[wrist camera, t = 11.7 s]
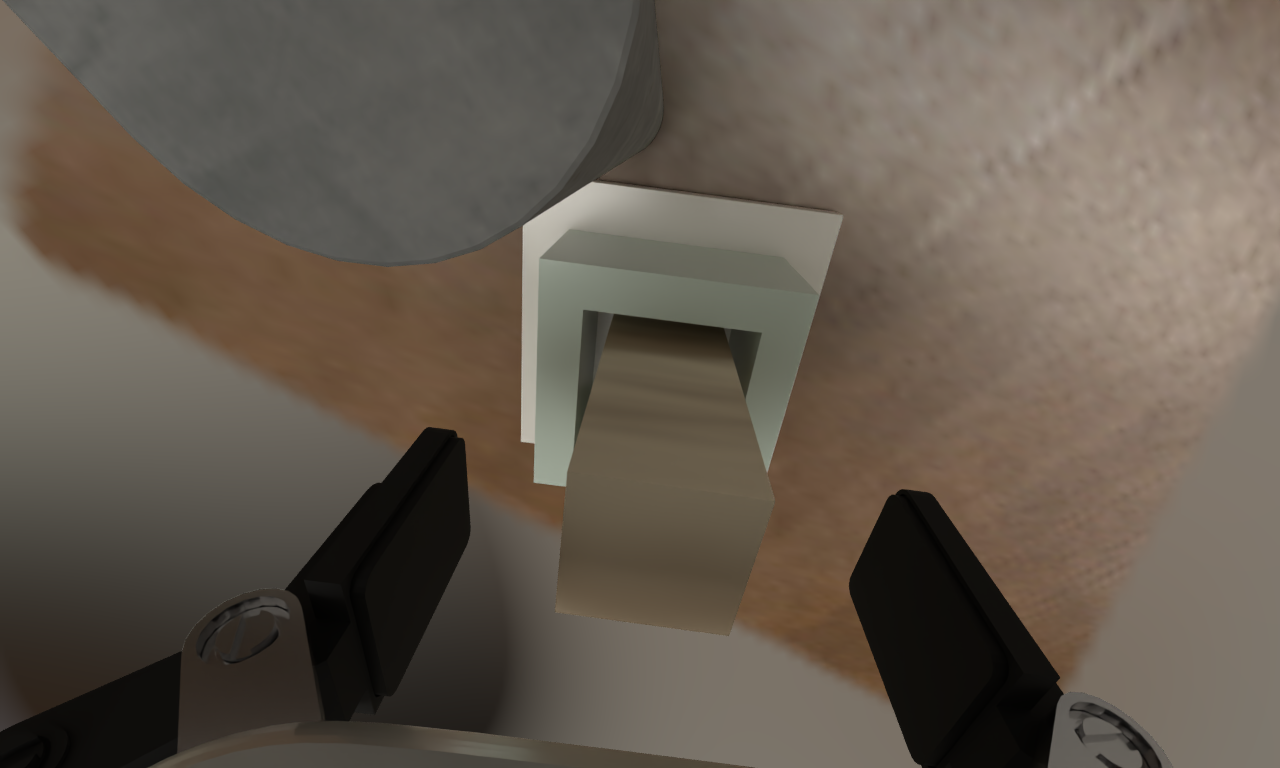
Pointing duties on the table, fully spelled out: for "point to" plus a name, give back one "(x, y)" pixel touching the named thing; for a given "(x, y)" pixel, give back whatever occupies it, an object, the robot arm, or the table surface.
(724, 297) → the socket holder
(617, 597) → the beech peg
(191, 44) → the hip flask
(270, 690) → the robot arm
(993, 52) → the table surface
